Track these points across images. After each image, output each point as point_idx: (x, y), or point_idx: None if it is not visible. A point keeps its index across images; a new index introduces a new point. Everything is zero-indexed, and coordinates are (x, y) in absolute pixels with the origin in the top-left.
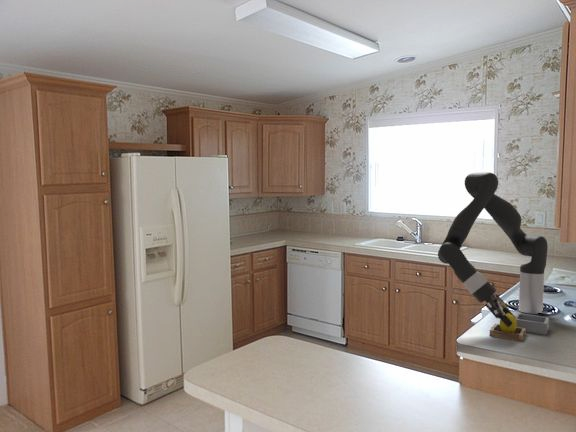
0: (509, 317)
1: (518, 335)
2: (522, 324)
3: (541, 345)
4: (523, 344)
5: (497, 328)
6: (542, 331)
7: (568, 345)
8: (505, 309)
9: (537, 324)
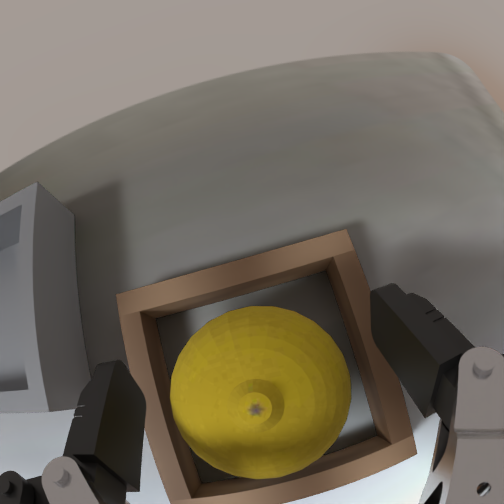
0: (323, 357)
1: (356, 254)
2: (57, 340)
3: (313, 149)
4: (389, 215)
5: (197, 485)
6: (66, 225)
7: (196, 90)
8: (100, 497)
9: (41, 237)
